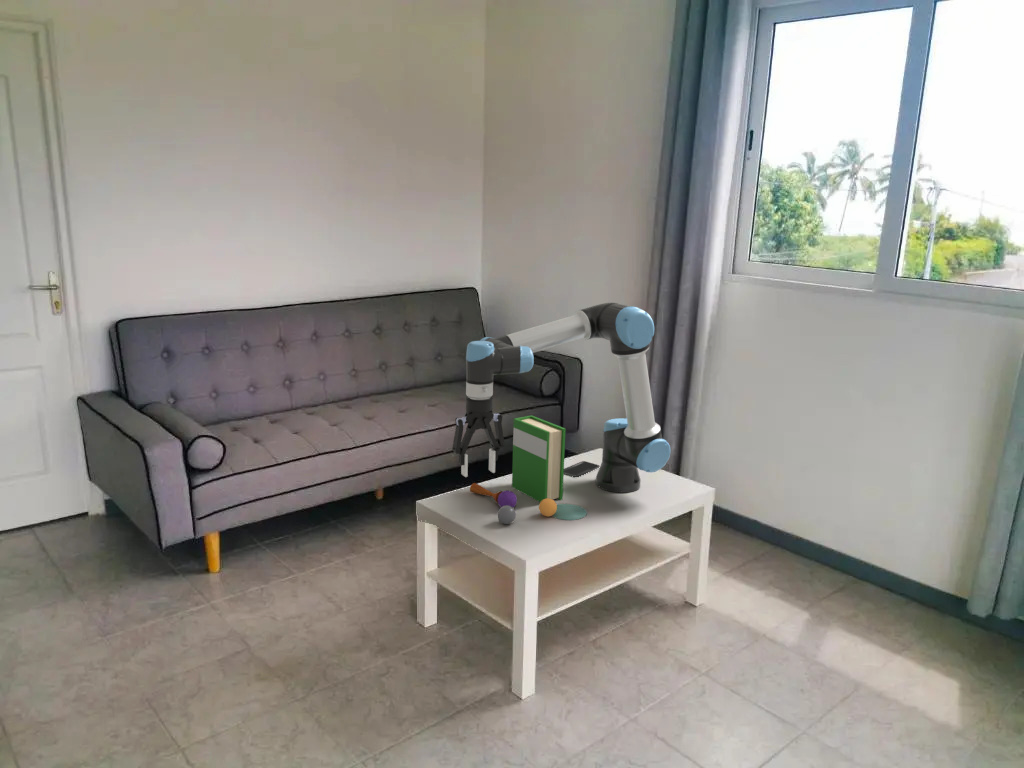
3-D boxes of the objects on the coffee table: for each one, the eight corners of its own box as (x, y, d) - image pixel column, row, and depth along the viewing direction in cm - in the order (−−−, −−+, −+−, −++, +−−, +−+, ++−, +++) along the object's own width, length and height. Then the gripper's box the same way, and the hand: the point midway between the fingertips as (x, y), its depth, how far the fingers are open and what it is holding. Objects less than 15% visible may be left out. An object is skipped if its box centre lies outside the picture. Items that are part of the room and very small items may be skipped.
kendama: (481, 478, 249) (521, 492, 234) (479, 496, 249) (519, 511, 234) (467, 479, 245) (507, 493, 230) (465, 497, 245) (505, 512, 230)
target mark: (582, 504, 240) (582, 503, 240) (590, 519, 228) (590, 518, 228) (545, 504, 238) (545, 504, 238) (551, 520, 227) (551, 519, 226)
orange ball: (554, 511, 233) (555, 495, 232) (558, 519, 228) (558, 502, 226) (537, 512, 232) (537, 495, 231) (540, 519, 227) (540, 502, 226)
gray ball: (514, 519, 227) (515, 502, 225) (516, 527, 221) (517, 509, 220) (496, 519, 226) (496, 502, 225) (498, 527, 221) (498, 510, 219)
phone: (558, 470, 267) (583, 460, 278) (558, 473, 267) (583, 463, 278) (577, 476, 262) (601, 465, 273) (576, 479, 262) (601, 468, 273)
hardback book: (562, 499, 243) (565, 428, 237) (544, 504, 239) (547, 432, 233) (529, 482, 257) (531, 415, 251) (511, 487, 252) (513, 418, 247)
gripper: (449, 403, 202) (449, 482, 208) (518, 396, 212) (516, 472, 217) (439, 396, 209) (439, 473, 214) (506, 390, 218) (505, 464, 223)
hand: (478, 473), depth 216 cm, fingers open, 8 cm apart
